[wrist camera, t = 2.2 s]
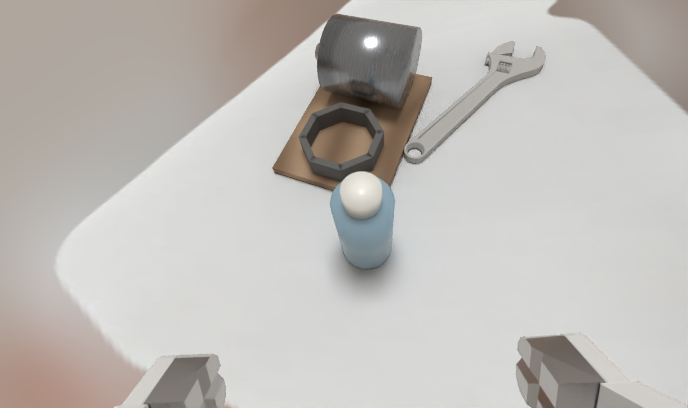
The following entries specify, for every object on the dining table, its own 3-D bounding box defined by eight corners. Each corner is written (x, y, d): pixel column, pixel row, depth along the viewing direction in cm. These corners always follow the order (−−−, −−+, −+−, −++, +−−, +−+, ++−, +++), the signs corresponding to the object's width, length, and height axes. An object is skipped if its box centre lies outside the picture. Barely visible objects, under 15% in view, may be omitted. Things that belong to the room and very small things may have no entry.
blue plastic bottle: (397, 232, 36) (404, 171, 26) (381, 276, 34) (382, 229, 24) (353, 217, 38) (342, 153, 27) (335, 259, 36) (315, 208, 25)
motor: (417, 74, 46) (425, 9, 38) (396, 123, 42) (400, 63, 34) (336, 58, 49) (327, -5, 41) (310, 102, 45) (295, 43, 37)
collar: (391, 128, 42) (391, 114, 39) (364, 189, 38) (363, 177, 36) (323, 111, 44) (321, 97, 42) (293, 167, 40) (288, 155, 38)
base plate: (431, 83, 46) (432, 77, 45) (382, 206, 38) (382, 202, 37) (337, 63, 49) (336, 58, 49) (274, 172, 42) (272, 167, 41)
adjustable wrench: (415, 170, 40) (416, 162, 39) (379, 139, 43) (379, 130, 41) (548, 65, 46) (554, 54, 44) (509, 43, 48) (513, 32, 47)
